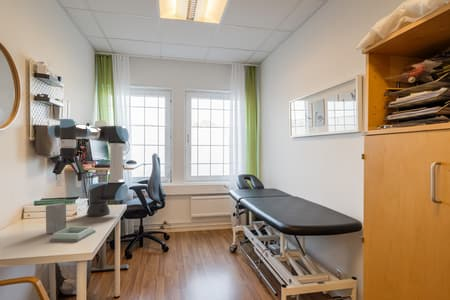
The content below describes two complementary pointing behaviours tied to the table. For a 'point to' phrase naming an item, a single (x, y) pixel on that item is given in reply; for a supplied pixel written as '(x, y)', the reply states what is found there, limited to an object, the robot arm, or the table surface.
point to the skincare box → (55, 217)
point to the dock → (72, 234)
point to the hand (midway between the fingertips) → (68, 186)
